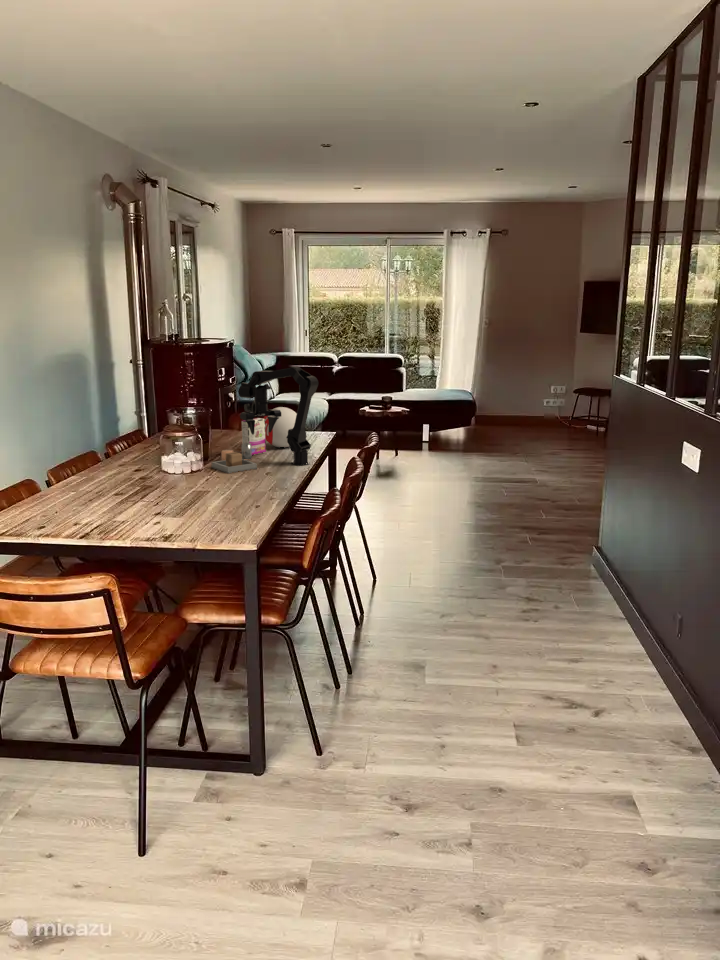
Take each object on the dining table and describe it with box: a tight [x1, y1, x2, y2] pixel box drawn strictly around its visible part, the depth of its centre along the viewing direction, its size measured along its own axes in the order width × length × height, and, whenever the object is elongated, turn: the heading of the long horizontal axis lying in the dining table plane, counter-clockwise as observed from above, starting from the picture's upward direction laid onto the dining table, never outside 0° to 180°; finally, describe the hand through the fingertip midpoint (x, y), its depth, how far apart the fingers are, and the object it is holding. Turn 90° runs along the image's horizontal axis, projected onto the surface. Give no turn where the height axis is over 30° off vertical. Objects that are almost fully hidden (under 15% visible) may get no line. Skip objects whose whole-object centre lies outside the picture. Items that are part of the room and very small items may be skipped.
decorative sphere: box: [263, 406, 297, 448], centre depth 365 cm, size 20×20×20 cm
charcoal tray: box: [211, 459, 258, 474], centre depth 318 cm, size 14×14×2 cm
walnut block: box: [226, 451, 242, 467], centre depth 318 cm, size 5×5×6 cm
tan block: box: [221, 449, 234, 461], centre depth 331 cm, size 5×5×5 cm
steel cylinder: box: [241, 443, 253, 460], centre depth 337 cm, size 4×4×7 cm
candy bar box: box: [241, 417, 267, 456], centre depth 348 cm, size 11×5×16 cm, turn 143°
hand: (261, 433), depth 335 cm, fingers open, 9 cm apart
